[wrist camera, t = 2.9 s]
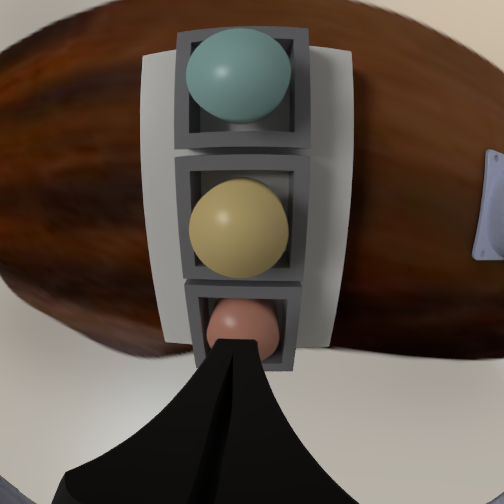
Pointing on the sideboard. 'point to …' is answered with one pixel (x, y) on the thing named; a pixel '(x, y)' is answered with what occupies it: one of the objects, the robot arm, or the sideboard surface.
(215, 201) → the ochre button
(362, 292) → the sideboard surface
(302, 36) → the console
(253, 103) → the teal button
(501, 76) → the sideboard surface
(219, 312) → the brick button
